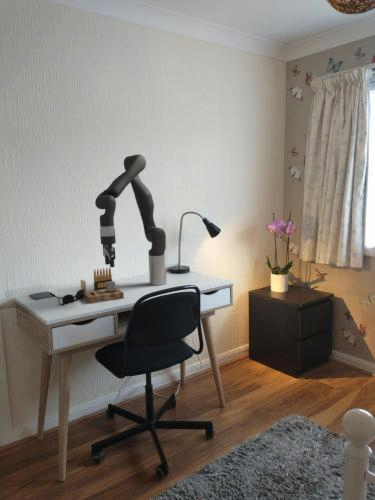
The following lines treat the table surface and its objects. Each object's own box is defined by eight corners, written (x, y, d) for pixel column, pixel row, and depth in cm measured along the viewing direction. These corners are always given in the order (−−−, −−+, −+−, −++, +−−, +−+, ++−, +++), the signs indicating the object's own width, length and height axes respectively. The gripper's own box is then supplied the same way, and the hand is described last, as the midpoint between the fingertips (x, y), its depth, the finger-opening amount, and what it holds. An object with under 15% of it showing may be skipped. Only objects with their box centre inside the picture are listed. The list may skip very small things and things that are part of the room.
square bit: (113, 295, 215) (113, 280, 214) (115, 297, 211) (115, 282, 210) (106, 296, 213) (105, 281, 212) (108, 298, 210) (107, 283, 208)
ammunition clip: (94, 290, 226) (93, 269, 224) (93, 290, 228) (92, 269, 226) (112, 287, 232) (111, 267, 230) (111, 287, 233) (110, 266, 231)
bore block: (117, 293, 220) (116, 287, 219) (123, 298, 209) (123, 292, 209) (83, 297, 212) (83, 292, 212) (88, 303, 201) (88, 297, 201)
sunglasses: (65, 295, 219) (65, 286, 219) (87, 297, 213) (86, 288, 212) (42, 303, 205) (41, 293, 204) (64, 306, 198) (63, 296, 197)
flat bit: (84, 294, 219) (83, 279, 218) (86, 296, 215) (85, 281, 214) (81, 294, 219) (80, 280, 217) (83, 296, 215) (82, 281, 213)
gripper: (119, 235, 202) (121, 267, 205) (110, 232, 215) (112, 262, 218) (104, 236, 199) (106, 269, 202) (96, 234, 212) (99, 264, 214)
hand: (109, 265), depth 210 cm, fingers open, 8 cm apart
